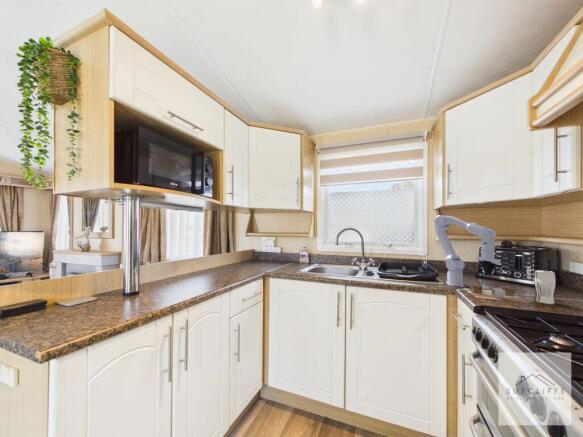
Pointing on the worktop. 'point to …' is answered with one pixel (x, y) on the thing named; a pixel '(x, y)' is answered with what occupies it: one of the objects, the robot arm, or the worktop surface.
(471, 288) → the walnut block
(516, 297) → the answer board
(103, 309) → the worktop surface
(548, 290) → the beer glass
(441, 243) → the robot arm
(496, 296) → the metal block
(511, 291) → the walnut block
